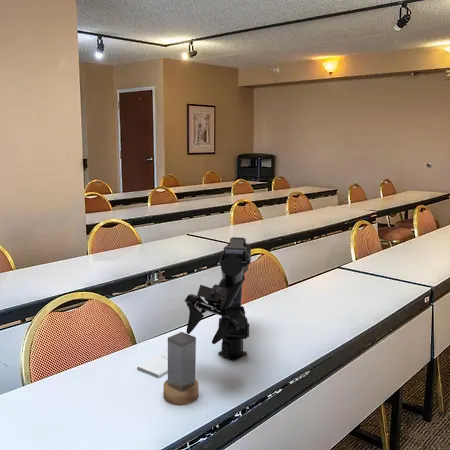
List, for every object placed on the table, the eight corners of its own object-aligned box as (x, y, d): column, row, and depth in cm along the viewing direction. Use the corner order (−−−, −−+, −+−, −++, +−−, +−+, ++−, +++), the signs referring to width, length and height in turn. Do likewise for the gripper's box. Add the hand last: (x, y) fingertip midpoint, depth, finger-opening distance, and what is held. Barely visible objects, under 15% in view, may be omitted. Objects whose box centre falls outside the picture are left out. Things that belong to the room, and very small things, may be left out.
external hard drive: (137, 371, 144) (165, 355, 154) (158, 380, 140) (187, 363, 150) (137, 366, 144) (165, 350, 154) (158, 374, 139) (187, 358, 149)
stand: (181, 382, 137) (181, 372, 137) (205, 394, 132) (205, 384, 131) (156, 395, 131) (156, 385, 130) (180, 409, 125) (181, 398, 124)
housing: (181, 377, 134) (181, 331, 131) (195, 384, 131) (195, 337, 128) (167, 385, 130) (167, 337, 127) (181, 391, 127) (181, 343, 124)
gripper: (189, 265, 140) (159, 314, 134) (242, 281, 128) (211, 335, 122) (208, 286, 148) (180, 333, 142) (259, 302, 136) (232, 354, 130)
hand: (199, 338), depth 134 cm, fingers open, 9 cm apart
